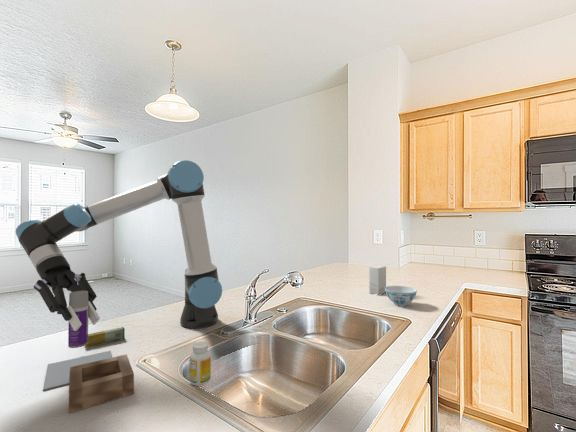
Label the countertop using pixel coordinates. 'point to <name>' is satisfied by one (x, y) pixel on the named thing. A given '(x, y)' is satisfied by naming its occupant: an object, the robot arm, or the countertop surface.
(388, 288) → the chinaware
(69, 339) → the container
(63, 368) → the grey mat
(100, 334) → the medication box
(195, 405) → the countertop surface
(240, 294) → the countertop surface
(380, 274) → the skincare box
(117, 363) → the walnut box
